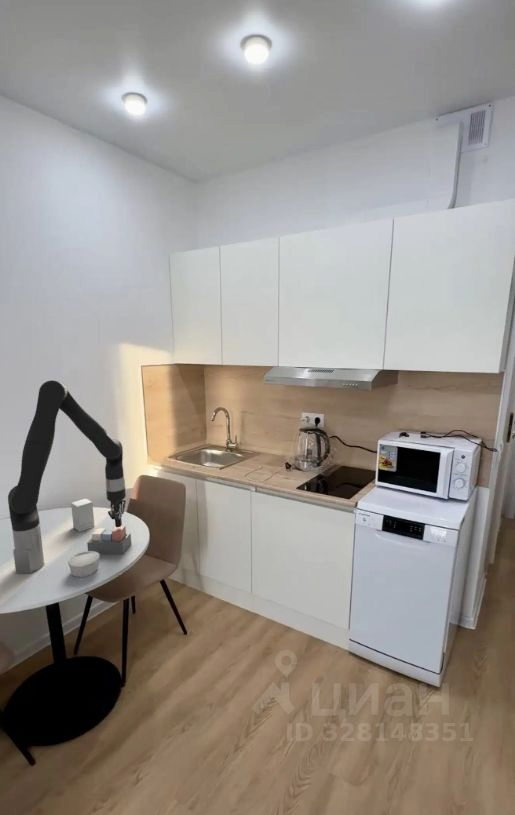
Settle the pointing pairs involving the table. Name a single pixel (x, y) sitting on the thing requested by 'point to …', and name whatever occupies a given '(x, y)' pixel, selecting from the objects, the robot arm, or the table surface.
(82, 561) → the ramekin
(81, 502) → the supplement box
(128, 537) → the dark grey tray
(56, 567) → the table surface
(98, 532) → the ivory key
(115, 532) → the pink block
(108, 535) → the slate blue key
